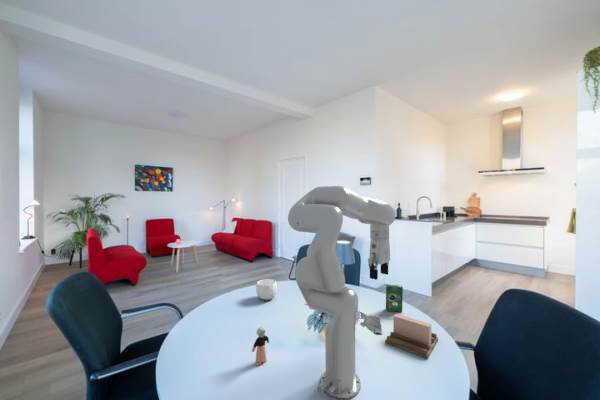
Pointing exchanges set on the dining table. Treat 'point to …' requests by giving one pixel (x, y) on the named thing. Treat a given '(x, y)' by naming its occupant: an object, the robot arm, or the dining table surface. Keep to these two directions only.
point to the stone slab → (371, 323)
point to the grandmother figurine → (260, 346)
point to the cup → (266, 289)
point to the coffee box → (394, 297)
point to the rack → (412, 344)
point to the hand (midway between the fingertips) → (379, 276)
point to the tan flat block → (412, 328)
